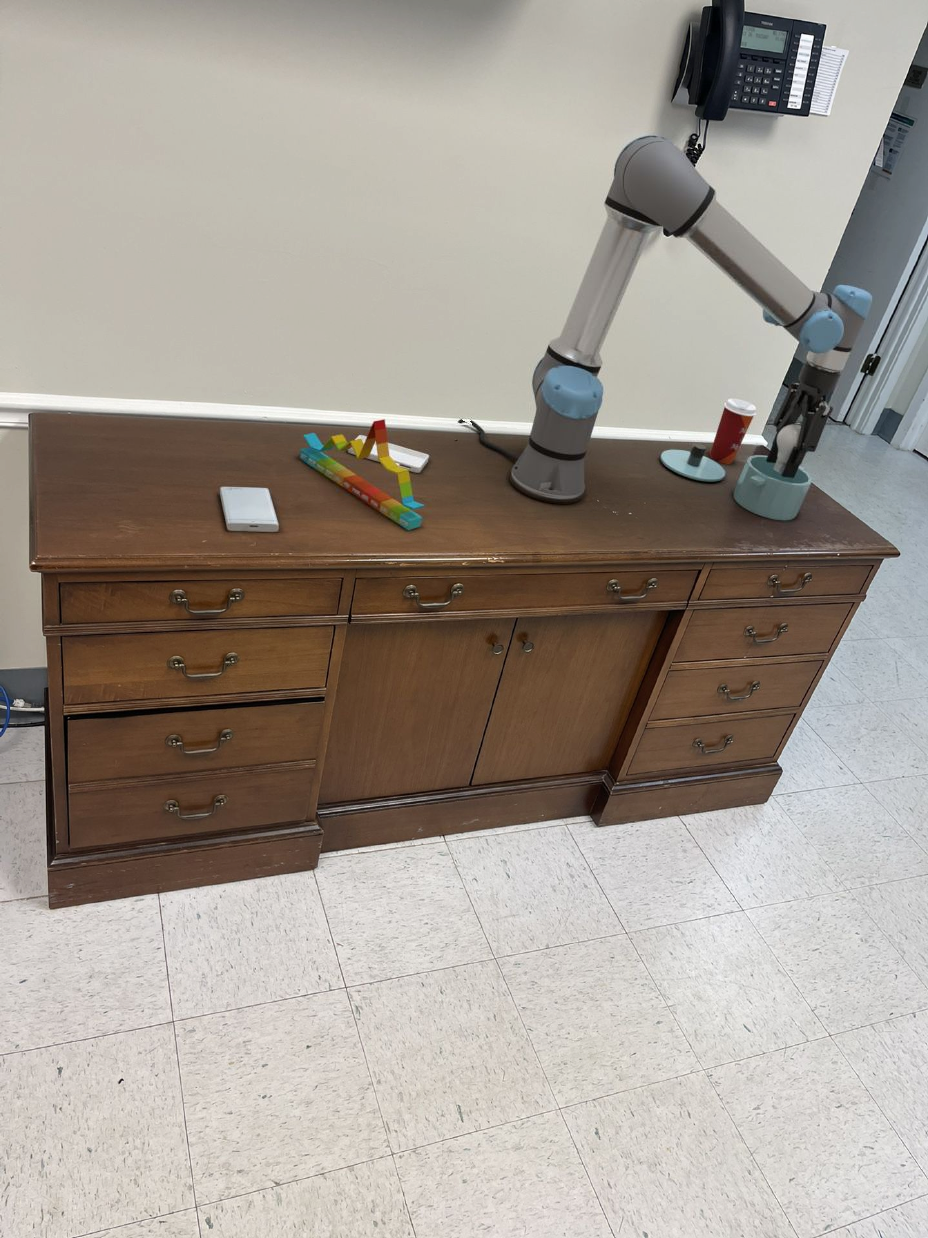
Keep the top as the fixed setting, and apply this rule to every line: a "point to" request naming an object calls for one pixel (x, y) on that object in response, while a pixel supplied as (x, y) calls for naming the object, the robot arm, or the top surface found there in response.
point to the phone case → (399, 456)
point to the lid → (693, 464)
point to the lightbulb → (786, 445)
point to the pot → (770, 489)
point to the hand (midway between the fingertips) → (779, 469)
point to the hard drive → (248, 509)
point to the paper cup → (732, 429)
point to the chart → (356, 483)
